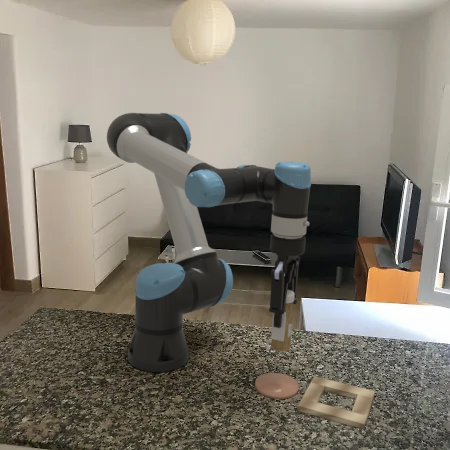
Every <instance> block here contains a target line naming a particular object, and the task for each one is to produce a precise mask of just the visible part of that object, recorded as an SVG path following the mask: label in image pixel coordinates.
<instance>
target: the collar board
mask: <svg viewBox="0 0 450 450" xmlns="http://www.w3.org/2000/svg"><path fill="white" fill-rule="evenodd" d="M324 392H328V393H332V394H335V395H340V396H344V397H347V398H352V399H355V401H354V404H353V407H352V409H351V410H347V409H343V408H339V407H336V406H333V405H332V406H331V405H329V404H326V403H321V402H320V400H321V399H322V396H323V394H324ZM375 395H376V392H375V390H371V389H369V388H368V389H367V388H363V387H359V386H356V385H352V384H347V383H343V382H340V381H336V380H332V379H328V378H324V377H320V376H313V378H312V380H311V382H310V383H309V385H308V387H307V389H306V390H305V392H304V394H303V396H302V398H301V399H300V401H299V403H298V404H297V411H298V412H300V413H303V414H304V413H305V414H308V415H312V416H315V417H317V418H318V417H319V418H323V419H326V420H329V421H331V422H337V423H339V424H344V425H348V426H350V427H354V428H357V429H361V430H364V429H365V427H366V424H367V422H368V418H369V415H370V411H371V408H372V405H373V403H374V399H375Z"/></svg>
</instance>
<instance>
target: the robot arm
mask: <svg viewBox="0 0 450 450" xmlns="http://www.w3.org/2000/svg"><path fill="white" fill-rule="evenodd" d="M106 132H107V133H106V142H107V145H108V147H109V150H110V151H111V153H113V154H114V155H115V156H116V157H117V158H119V159H120V160H122V161H123V162H126V163H130V164H135V163H136V164H137V165H139V166H141V167H142V168H144V169H146V170H148V171H149V172H150V173H151V172H152V173H153V175H154V177H155V181H156V185H157V188H158V191H159V195H160V199H161V202H162V205H163V210H164V213H165V215H166V216H165V217H166V219H167V223H168V227H169V231H170V234H171V239H172V240H173V245H174V248H175V251H176V258H175V260H174V262H165V263H162V262H159V263H154V264H151V265H148V266H146V267H144V268H142V269H141V270H139V272H138V273H137V276H136V279H135V287H134V294H135V329H134V332H133V334H132V337H131V341H130V343H129V346H128V348H127V349H128V350H127V359H128V360H127V361H128V363H129V364H130V365H131V366H133V368H136V369H139V370H141V371H143V372H144V371H145V372H151V373H164V372H169V371H174V370H177V369H179V368H181V367H183V366H184V365H185V364H187V363H188V360H189V356H190V354H189V353H190V351H189V346H188V343H187V339H186V336H185V332H184V330H183V322H184V315H185V314H188V313H192V312H195V311H199V310H200V311H201V310H203V309H206V308H210V307H215V306H216V305H218V304H221V303H224V302H225V301H226V300H227V299H228V298H229V296H230V295H231V291H232V290H233V285H234V275H233V272H232V269H231V266H230V265H229V264H228V263H227V262H226V261H225V260H224V259H221V258H219V257H218V255H217V251H216V250H215V249H213V248H212V247H210V245H209V244H208V240H207V237H206V233H205V230H204V226H203V223H202V219H201V217H200V212H199V209H198V208H213V207H215V206H216V207H217V206H223V205H224V206H225V205H230V204H239V203H240V204H241V203H247V202H255V201H256V202H257V201H258V202H263V203H268V204H272V211H271V212H272V213H271V225H270V226H271V227H270V232H271V233H272V234H271V235H270V241H269V242H270V243H269V251H270V252H271V253H273V254H275V255H276V256H277V259H276V260H275V262H274V268H272V269H271V270H270V274H271V275H270V276H271V285H270V288H271V289H270V298H269V299H270V301H269V309H268V311H269V313H271V314H272V320H271V321H272V323H271V338H270V339H271V340H272V339H274V340H279V341H284V332H285V319H286V312H285V304H286V297H287V289H288V290H291V291H293V292H294V294H295V295H294V302H293V305H297V304H298V300H297V299H296V298H297V289H298V288H297V287H298V278H299V267H300V261H301V257H300V256H302V255H304V254H305V252H306V243H307V242H306V241H307V237H305V235H306V234H307V227H309V226H310V221H308V215H309V213H308V208H309V201H310V192H311V186H312V183H311V180H312V179H311V176H312V175H311V173H312V172H311V166H310V165H309V164H308V163H306V162H301V161H300V162H299V161H289V160H288V161H278V162H276V164H275V166H274V167H275V168H270V167H269V168H268V167H265V166H263V167H262V166H258V165H255V164H241V165H238V166H237V167H235V168H234V167H233V168H231V167H230V168H229V167H228V168H218V167H215V166H213V165H211V164H209V163H207V162H205V161H203V160H202V159H201V160H200V159H199V158H198V157H195V156H193V155H191V154H190V153H188V152H189V151H190V148H191V145H192V144H191V141H192V135H191V130H190V128H189V126H188V123H187V122H186V121H185V120H184V119H183V118H182V117H181V116H178V115H177V114H171V113H168V112H160V113H148V112H146V113H142V112H141V113H140V112H139V113H138V112H128V113H123V114H121V115H119V116H117V117H115V119H113V120H112V122H111V123H110V125H109V126H108V129H107V131H106Z"/></svg>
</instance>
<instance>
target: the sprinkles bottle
mask: <svg viewBox="0 0 450 450" xmlns="http://www.w3.org/2000/svg"><path fill="white" fill-rule="evenodd" d="M294 295H295V294H294V292H293V291H291V290H288V289H287V297H286V304H285V312H286V319H285V332H284V341H279V340H274V339H271V343H270V348H271V349H272V350H274V351H276V352H281V353H282V352H284V353H285V352H289V350H291V346H292V345H291V340H292V339H291V337H292V330H293V329H292V327H293V309H294V307H293V306H294V304H293V302H294V300H295V298H294Z"/></svg>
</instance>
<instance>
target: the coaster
mask: <svg viewBox="0 0 450 450" xmlns="http://www.w3.org/2000/svg"><path fill="white" fill-rule="evenodd" d="M254 384H255V385H254V387H255V391H257V392H258V393H260V395H262V396H265V397H266V398H270V399H275V400H285V399H290V398H293V397H295V396H296V395H297V394H298V392H299V389H300V388H299V387H300V385H299V382H298V381H297V380H296V379H295V378H293V377H292V376H290V375H287V374H284V373H279V372H267V373H264V374H261V375H259V376H257V378H256V379H255V383H254Z"/></svg>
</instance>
